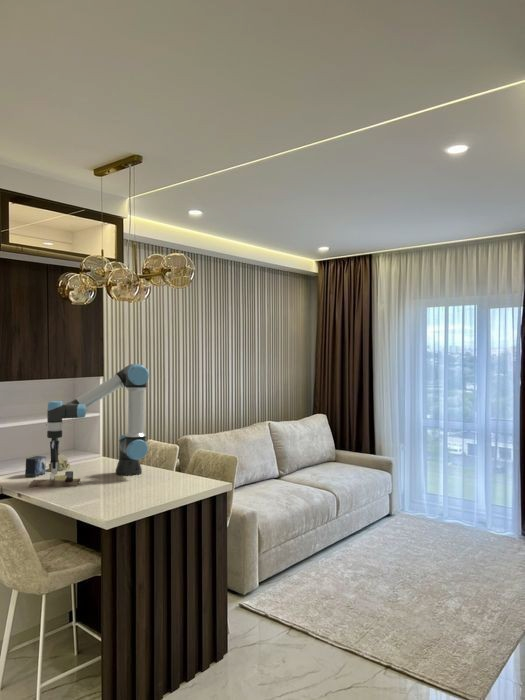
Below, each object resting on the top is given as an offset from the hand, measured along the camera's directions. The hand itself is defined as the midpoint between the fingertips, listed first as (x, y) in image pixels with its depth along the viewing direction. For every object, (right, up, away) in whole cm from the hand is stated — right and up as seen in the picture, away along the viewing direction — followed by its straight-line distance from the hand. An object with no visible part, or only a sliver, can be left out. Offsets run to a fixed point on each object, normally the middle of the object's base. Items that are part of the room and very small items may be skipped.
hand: (54, 474), depth 286 cm
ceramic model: (-13, -7, +40) cm, 43 cm away
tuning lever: (+5, -3, -2) cm, 6 cm away
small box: (-19, -6, +21) cm, 29 cm away
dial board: (+1, -5, -1) cm, 5 cm away
